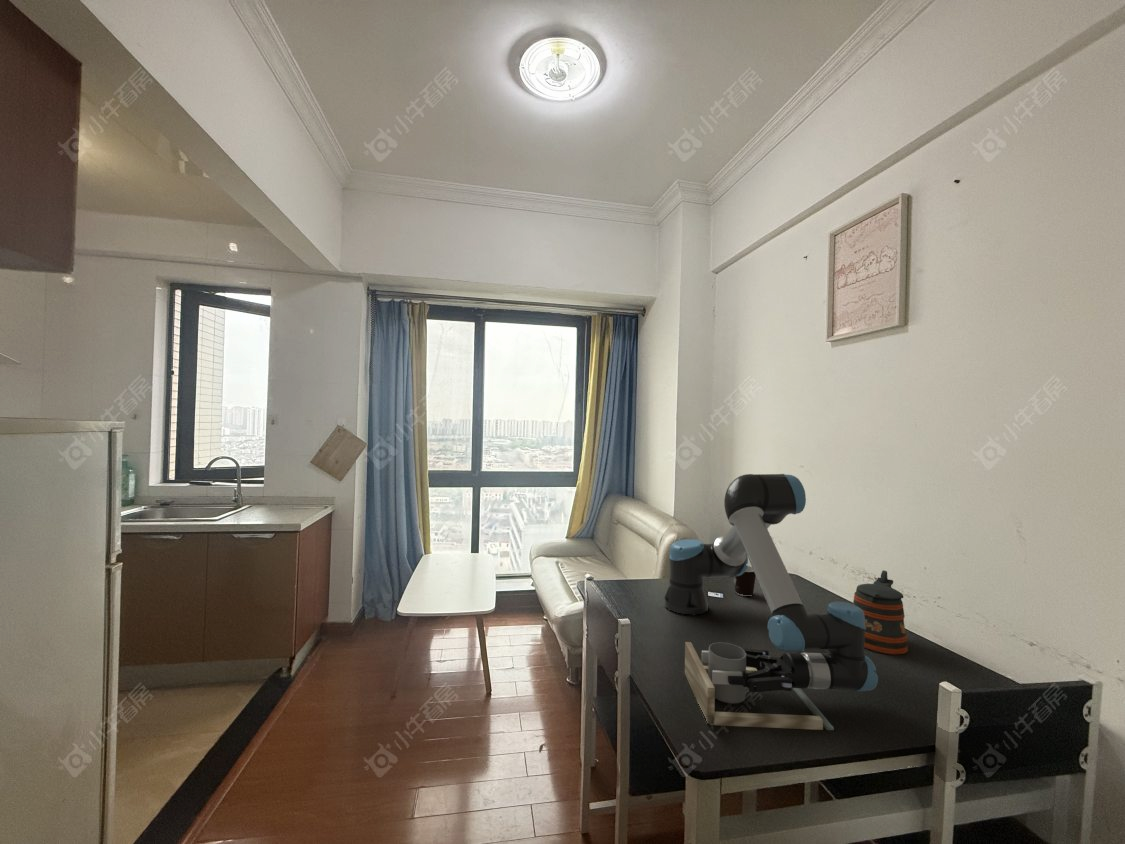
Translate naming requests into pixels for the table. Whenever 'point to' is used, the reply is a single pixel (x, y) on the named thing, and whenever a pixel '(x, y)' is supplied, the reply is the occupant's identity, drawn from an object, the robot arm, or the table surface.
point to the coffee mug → (745, 582)
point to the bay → (706, 701)
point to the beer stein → (882, 616)
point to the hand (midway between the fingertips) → (707, 666)
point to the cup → (727, 660)
